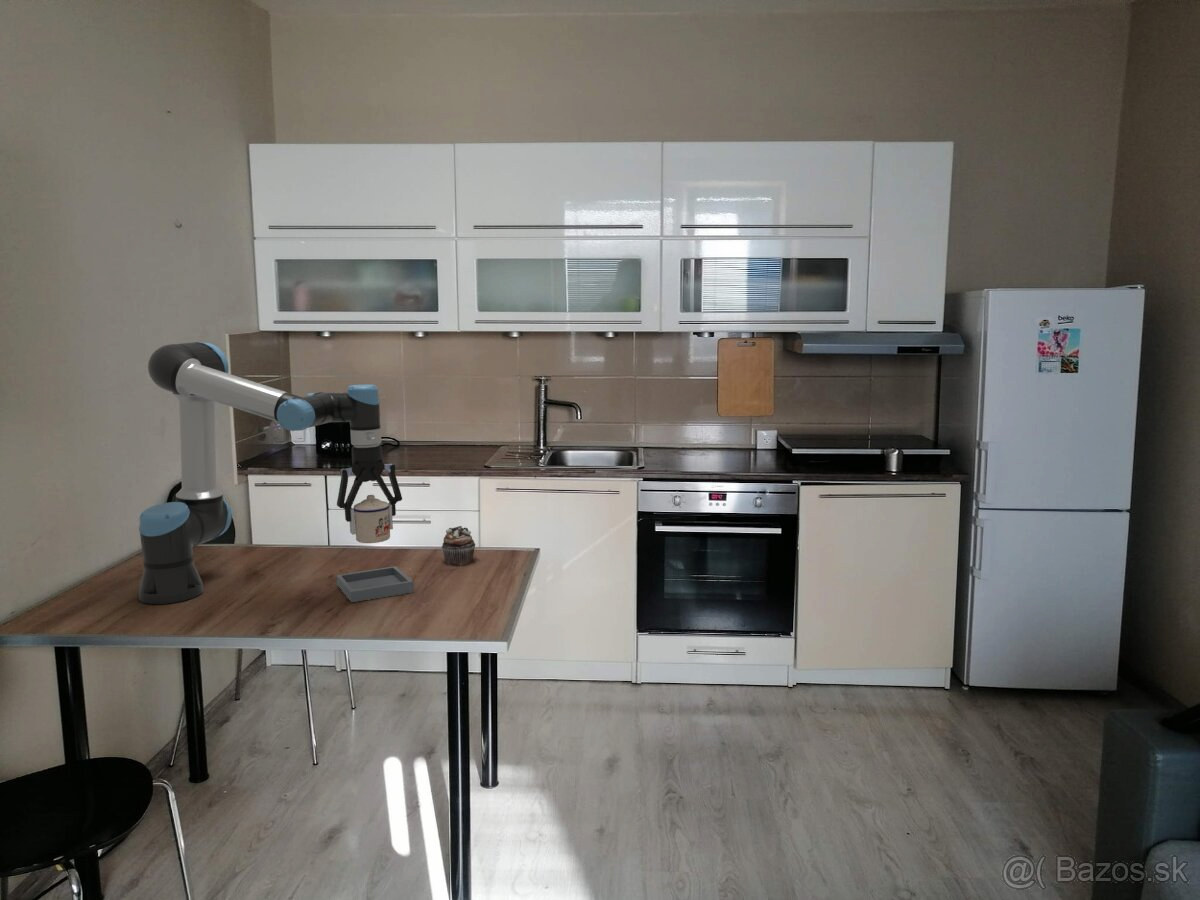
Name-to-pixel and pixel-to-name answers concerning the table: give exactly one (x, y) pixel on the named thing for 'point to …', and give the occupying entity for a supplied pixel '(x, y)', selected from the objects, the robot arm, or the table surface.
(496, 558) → the table surface
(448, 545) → the cupcake
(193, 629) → the table surface
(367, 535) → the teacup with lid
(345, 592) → the square tray
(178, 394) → the robot arm
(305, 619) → the table surface
